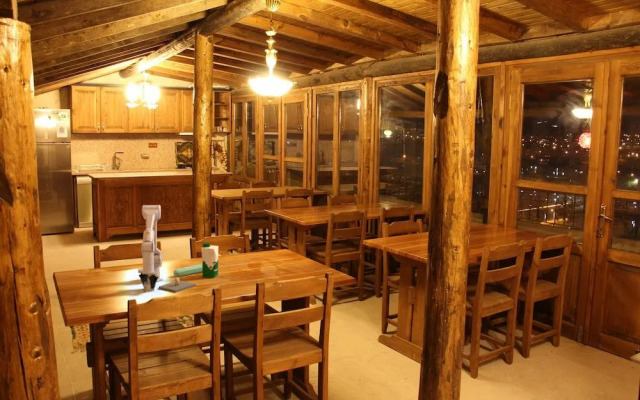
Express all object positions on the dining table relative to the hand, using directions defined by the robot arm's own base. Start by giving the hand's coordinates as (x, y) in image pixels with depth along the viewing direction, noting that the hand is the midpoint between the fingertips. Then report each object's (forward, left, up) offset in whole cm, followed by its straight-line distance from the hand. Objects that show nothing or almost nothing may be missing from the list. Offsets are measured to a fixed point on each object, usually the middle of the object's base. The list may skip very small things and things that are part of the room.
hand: (149, 287), depth 304 cm
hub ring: (0, 0, -1) cm, 1 cm away
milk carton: (+9, +39, -2) cm, 40 cm away
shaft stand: (+9, +12, -1) cm, 15 cm away
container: (-4, +38, -2) cm, 38 cm away
